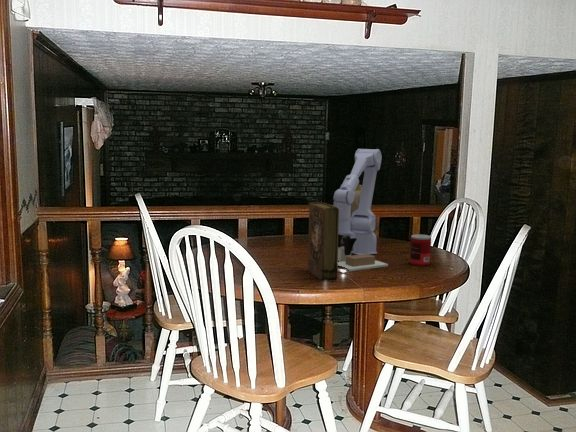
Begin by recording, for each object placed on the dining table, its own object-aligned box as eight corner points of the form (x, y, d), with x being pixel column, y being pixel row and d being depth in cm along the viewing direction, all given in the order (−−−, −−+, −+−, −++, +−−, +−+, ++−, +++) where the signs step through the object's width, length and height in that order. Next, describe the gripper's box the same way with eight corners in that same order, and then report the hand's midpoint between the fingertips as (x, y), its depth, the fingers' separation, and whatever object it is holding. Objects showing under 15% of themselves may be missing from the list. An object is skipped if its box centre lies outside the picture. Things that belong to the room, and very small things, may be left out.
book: (306, 269, 203) (308, 202, 200) (320, 269, 205) (322, 202, 201) (322, 281, 188) (323, 208, 184) (337, 280, 189) (339, 207, 186)
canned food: (430, 262, 218) (432, 235, 216) (429, 266, 210) (430, 238, 209) (411, 260, 220) (412, 233, 219) (408, 265, 213) (409, 237, 211)
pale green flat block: (369, 260, 221) (369, 250, 220) (388, 266, 210) (388, 256, 210) (331, 264, 212) (331, 254, 212) (349, 271, 202) (349, 261, 201)
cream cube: (343, 258, 223) (344, 246, 223) (350, 261, 219) (351, 248, 218) (333, 259, 221) (333, 247, 220) (340, 262, 217) (340, 249, 216)
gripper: (324, 217, 222) (323, 250, 224) (345, 222, 209) (344, 257, 211) (339, 216, 225) (338, 249, 227) (360, 221, 213) (359, 256, 215)
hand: (342, 253), depth 219 cm, fingers open, 7 cm apart
